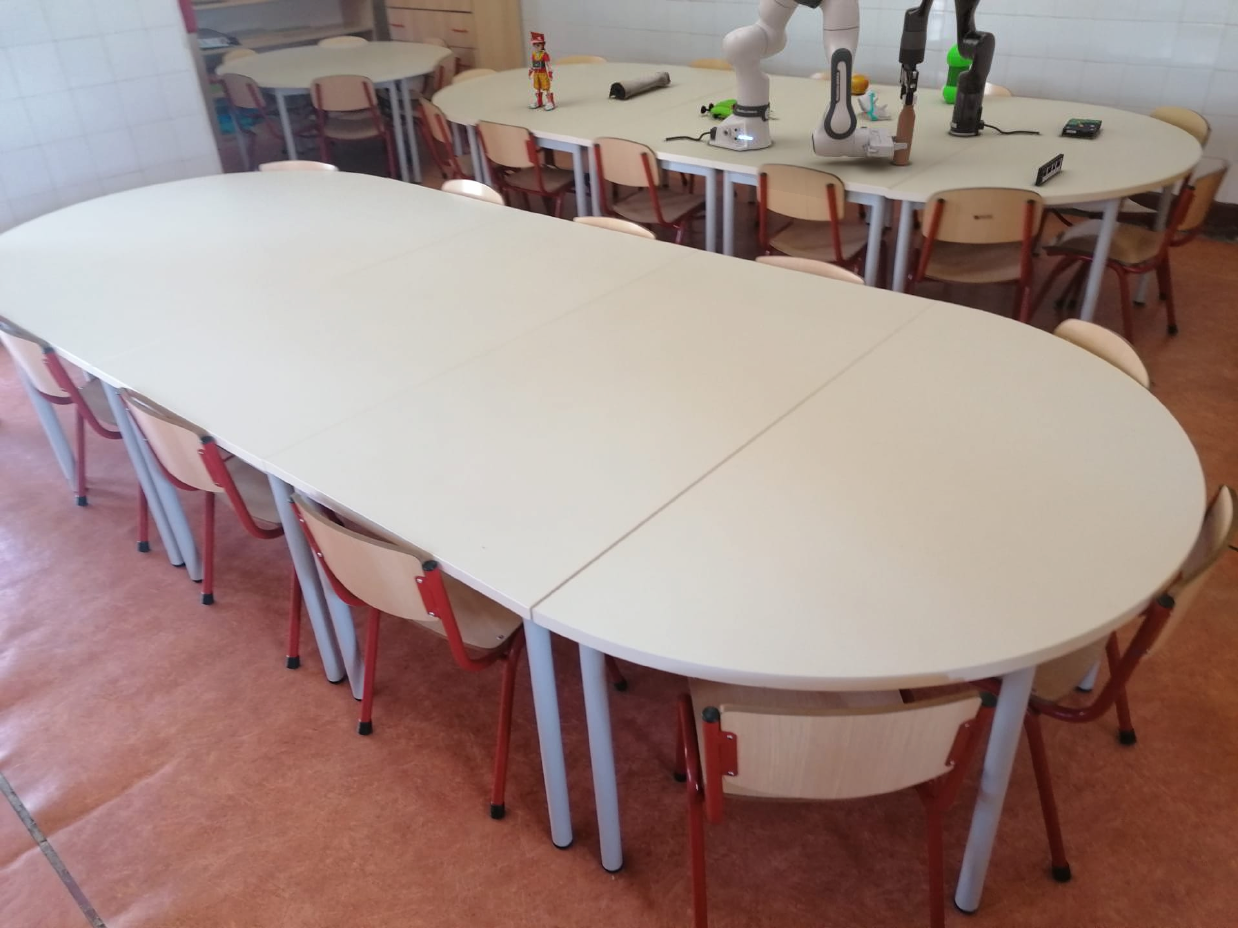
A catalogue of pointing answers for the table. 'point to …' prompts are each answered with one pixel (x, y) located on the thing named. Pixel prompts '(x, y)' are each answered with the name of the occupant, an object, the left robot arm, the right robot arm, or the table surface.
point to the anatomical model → (872, 106)
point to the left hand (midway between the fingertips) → (906, 142)
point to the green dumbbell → (954, 73)
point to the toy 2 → (721, 109)
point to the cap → (913, 99)
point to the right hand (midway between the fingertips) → (905, 102)
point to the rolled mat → (638, 84)
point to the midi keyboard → (1049, 169)
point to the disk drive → (1081, 128)
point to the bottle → (904, 134)
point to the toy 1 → (541, 71)
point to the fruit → (859, 84)
